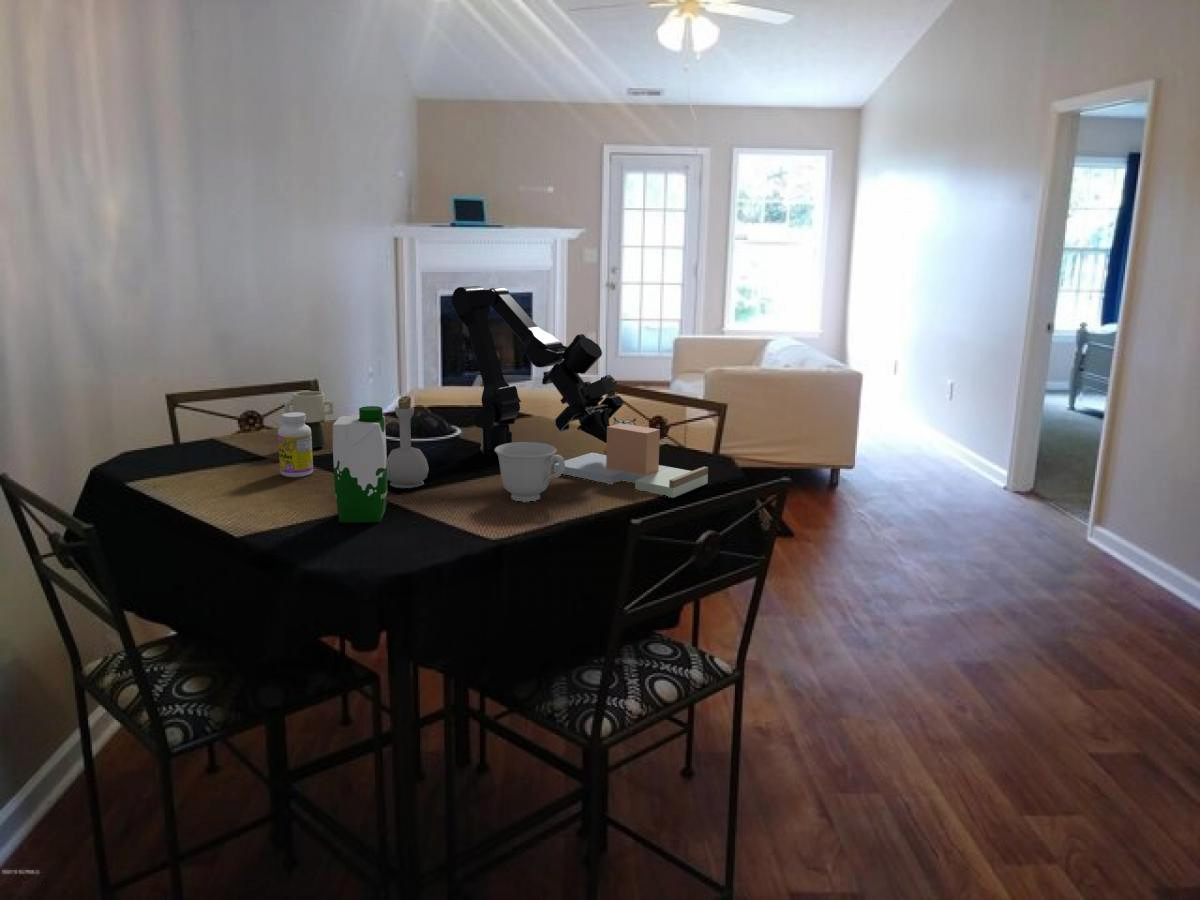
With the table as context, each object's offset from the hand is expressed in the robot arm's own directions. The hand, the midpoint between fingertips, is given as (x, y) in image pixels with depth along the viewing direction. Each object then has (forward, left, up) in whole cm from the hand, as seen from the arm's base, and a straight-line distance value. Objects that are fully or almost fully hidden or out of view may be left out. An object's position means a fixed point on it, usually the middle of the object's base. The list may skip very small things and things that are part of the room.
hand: (612, 443), depth 199 cm
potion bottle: (-43, +1, -7) cm, 44 cm away
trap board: (+3, -4, -7) cm, 8 cm away
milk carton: (-52, -20, -7) cm, 57 cm away
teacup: (-20, -15, -7) cm, 27 cm away
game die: (+9, +21, -7) cm, 23 cm away
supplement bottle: (-65, +13, -7) cm, 67 cm away
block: (+3, -4, -5) cm, 7 cm away
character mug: (-63, +36, -7) cm, 74 cm away
